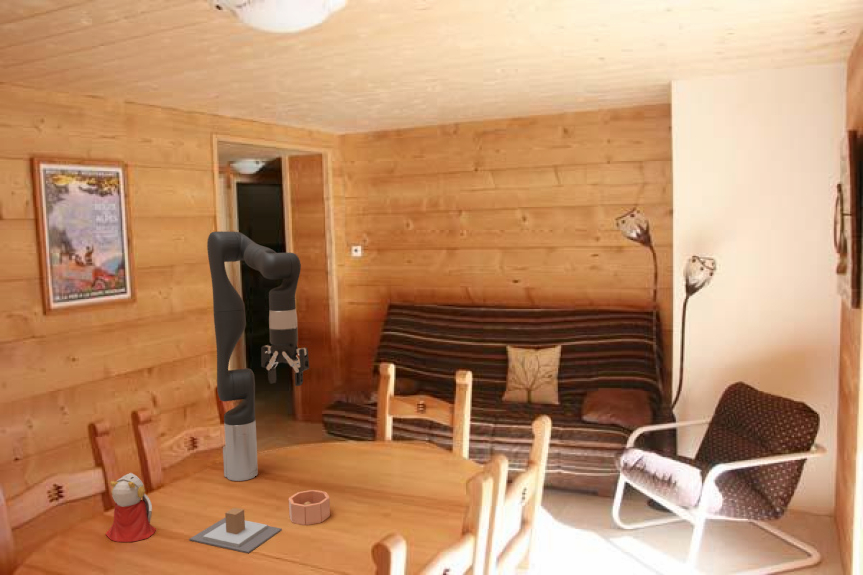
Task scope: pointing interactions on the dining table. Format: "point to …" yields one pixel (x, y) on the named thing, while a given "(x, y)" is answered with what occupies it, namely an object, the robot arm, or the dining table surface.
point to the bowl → (309, 507)
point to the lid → (235, 529)
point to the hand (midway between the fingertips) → (285, 384)
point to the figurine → (130, 511)
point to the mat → (244, 548)
